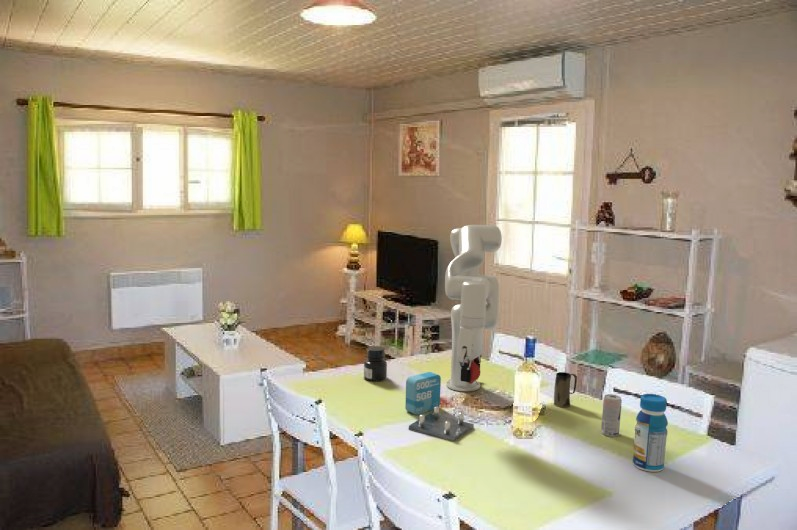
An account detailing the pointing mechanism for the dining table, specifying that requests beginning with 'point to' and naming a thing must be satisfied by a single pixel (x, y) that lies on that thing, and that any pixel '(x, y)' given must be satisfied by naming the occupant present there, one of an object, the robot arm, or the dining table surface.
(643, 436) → the beverage bottle
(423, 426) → the grey pegged plate
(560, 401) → the mug
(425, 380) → the data package
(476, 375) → the onion
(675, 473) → the dining table surface
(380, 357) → the ink bottle
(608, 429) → the energy drink
